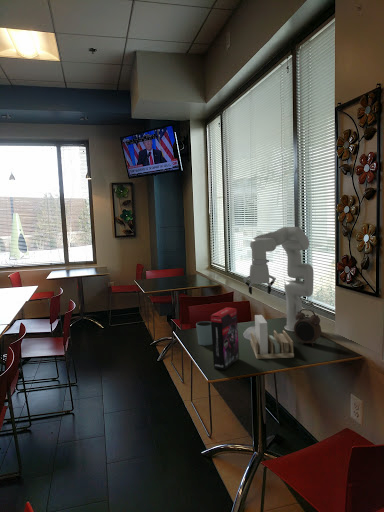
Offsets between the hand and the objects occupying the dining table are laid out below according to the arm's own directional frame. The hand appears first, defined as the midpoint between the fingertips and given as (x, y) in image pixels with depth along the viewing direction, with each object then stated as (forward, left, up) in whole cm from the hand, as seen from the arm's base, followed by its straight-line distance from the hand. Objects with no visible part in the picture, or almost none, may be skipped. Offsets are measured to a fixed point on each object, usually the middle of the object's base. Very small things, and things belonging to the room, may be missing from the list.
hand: (259, 293), depth 198 cm
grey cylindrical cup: (+30, -16, -32) cm, 47 cm away
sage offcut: (-7, 0, -32) cm, 33 cm away
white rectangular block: (0, 0, -32) cm, 32 cm away
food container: (-2, -24, -33) cm, 41 cm away
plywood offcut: (-12, 0, -32) cm, 34 cm away
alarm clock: (-28, -8, -32) cm, 43 cm away
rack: (-6, 0, -32) cm, 32 cm away
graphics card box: (+20, +16, -32) cm, 41 cm away
